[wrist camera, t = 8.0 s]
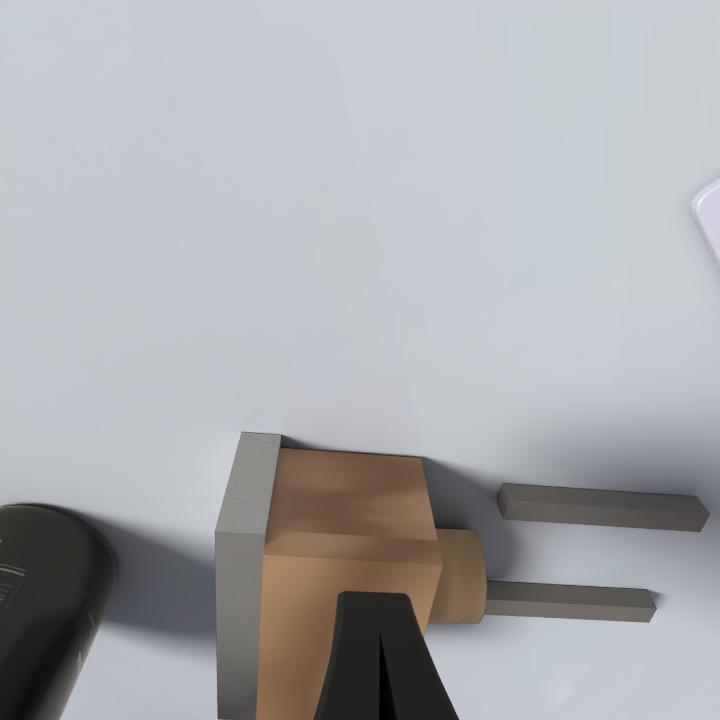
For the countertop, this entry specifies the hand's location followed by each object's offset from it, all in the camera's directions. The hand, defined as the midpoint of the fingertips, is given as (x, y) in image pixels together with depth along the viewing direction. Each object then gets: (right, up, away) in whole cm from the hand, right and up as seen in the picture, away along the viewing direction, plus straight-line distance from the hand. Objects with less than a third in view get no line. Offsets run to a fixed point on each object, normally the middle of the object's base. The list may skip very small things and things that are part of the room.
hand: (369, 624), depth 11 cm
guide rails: (+9, -3, +13) cm, 17 cm away
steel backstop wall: (-5, -2, +12) cm, 13 cm away
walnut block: (-1, -2, +12) cm, 13 cm away
